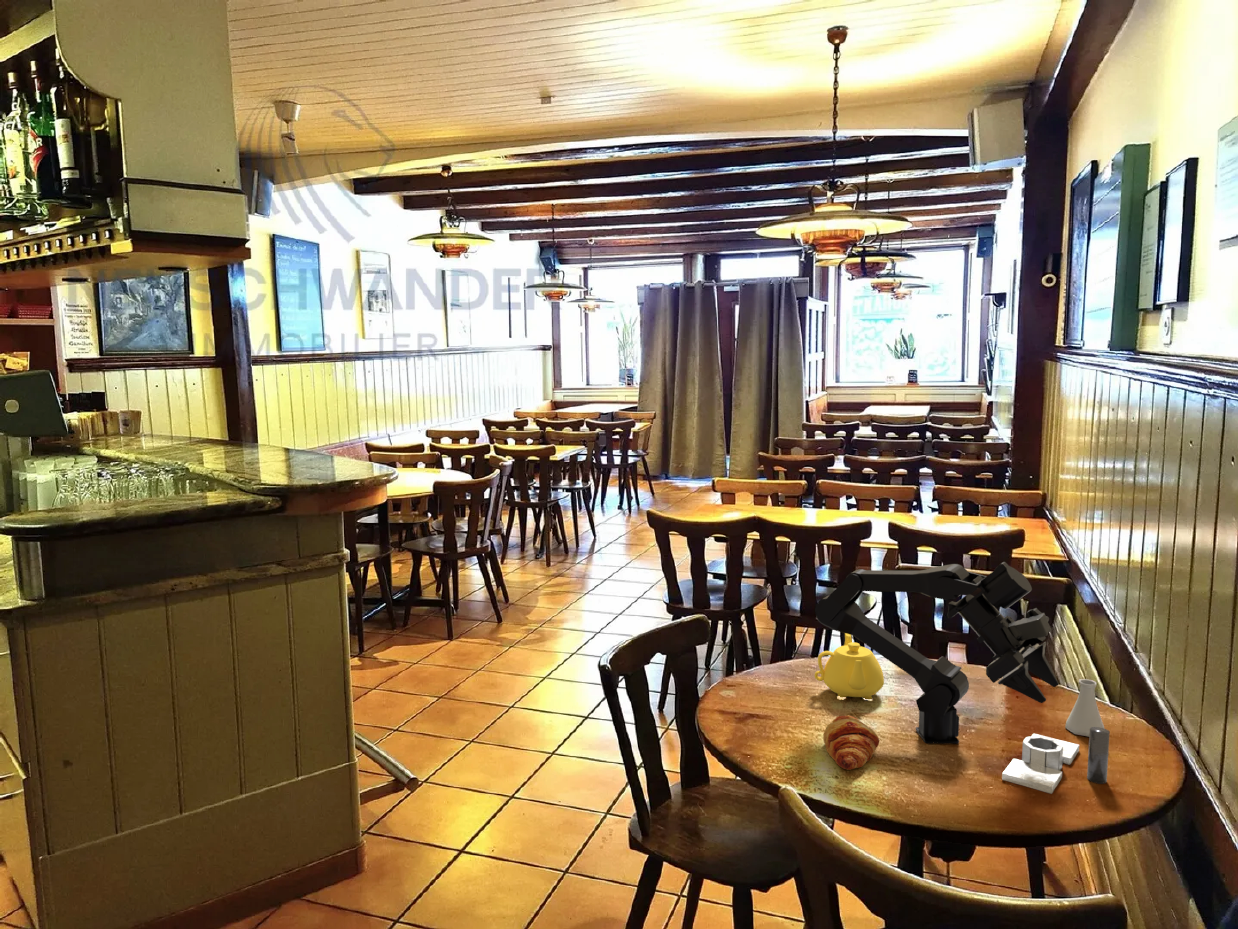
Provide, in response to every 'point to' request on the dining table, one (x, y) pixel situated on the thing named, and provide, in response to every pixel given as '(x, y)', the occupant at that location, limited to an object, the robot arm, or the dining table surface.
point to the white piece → (1040, 763)
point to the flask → (1084, 710)
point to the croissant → (850, 742)
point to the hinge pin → (1098, 755)
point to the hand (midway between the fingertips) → (1050, 693)
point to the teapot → (851, 671)
